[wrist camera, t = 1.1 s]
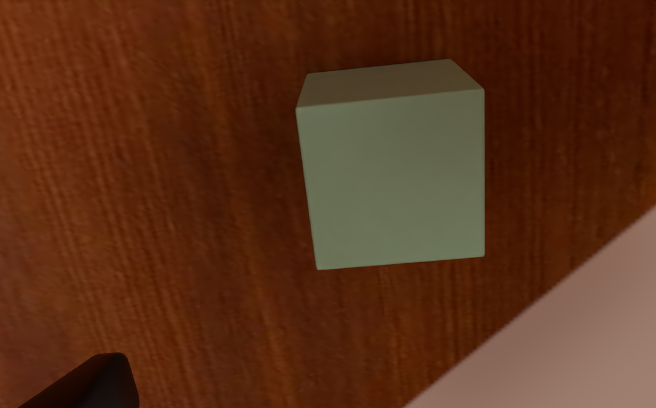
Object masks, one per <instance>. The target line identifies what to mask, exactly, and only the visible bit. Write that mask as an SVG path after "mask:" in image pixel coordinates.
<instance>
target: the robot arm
mask: <svg viewBox="0 0 656 408" xmlns="http://www.w3.org/2000/svg"><path fill="white" fill-rule="evenodd" d="M18 408H139V395H138V391H137V388H136V384H135V381H134V378H133V374H132V371H131V368H130V364H129V361H128V359H127V357H126V356H125V355H124V354H123V353H120V352H118V353H104V354H97V355H94V356H93V357H91V358H90V359H88V360H87V361H85V362H84V363H82V364H81V365H79V366H78V367H77V368H75V369H74V370H72V371H71V372H69V373H68V374H66V375H65V376H63V377H62V378H61V379H59V380H58V381H56V382H55V383H53V384H52V385H50V386H49V387H47V388H46V389H44V390H43V391H42V392H40V393H39V394H37V395H36V396H34V397H33V398H31V399H30V400H28V401H27V402H26V403H24V404H23V405H21V406H20V407H18Z"/></svg>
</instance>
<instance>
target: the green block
mask: <svg viewBox="0 0 656 408" xmlns="http://www.w3.org/2000/svg"><path fill="white" fill-rule="evenodd" d="M295 111H296V119H297V126H298V134H299V141H300V149H301V156H302V164H303V172H304V179H305V187H306V194H307V202H308V209H309V217H310V225H311V232H312V240H313V247H314V255H315V262H316V268H317V270H326V269H338V268H350V267H363V266H375V265H387V264H399V263H411V262H423V261H435V260H448V259H460V258H472V257H483V256H484V254H485V123H484V89H483V88H482V87H481V86H480V85H479V84H478V83H477V82H476V81H475V80H473V79H472V78H471V77H470V76H469V75H468V74H467V73H466V72H465V71H464V70H463V69H461V68H460V67H459V66H458V65H457V64H456V63H455V62H454V61H453V60H452V59H443V60H433V61H424V62H414V63H404V64H395V65H385V66H376V67H366V68H357V69H347V70H338V71H328V72H319V73H309V74H307V75H306V78H305V81H304V84H303V87H302V90H301V93H300V97H299V100H298V103H297V106H296V109H295Z"/></svg>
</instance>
